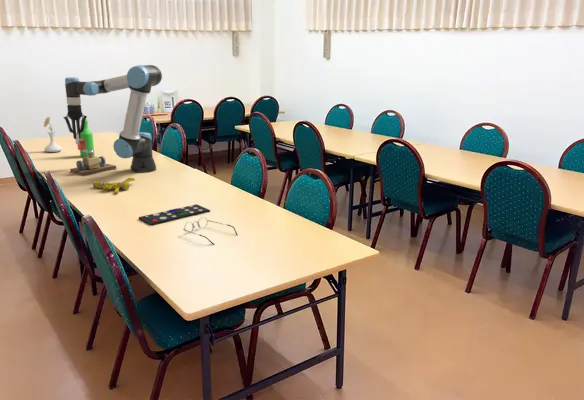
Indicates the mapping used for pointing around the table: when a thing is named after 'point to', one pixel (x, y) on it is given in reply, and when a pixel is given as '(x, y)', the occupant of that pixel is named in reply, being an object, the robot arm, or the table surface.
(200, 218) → the eyeglasses
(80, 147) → the lever
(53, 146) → the flower in vase
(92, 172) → the valve board
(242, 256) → the table surface
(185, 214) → the remote control
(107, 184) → the yellow toy lizard
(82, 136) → the bottle
